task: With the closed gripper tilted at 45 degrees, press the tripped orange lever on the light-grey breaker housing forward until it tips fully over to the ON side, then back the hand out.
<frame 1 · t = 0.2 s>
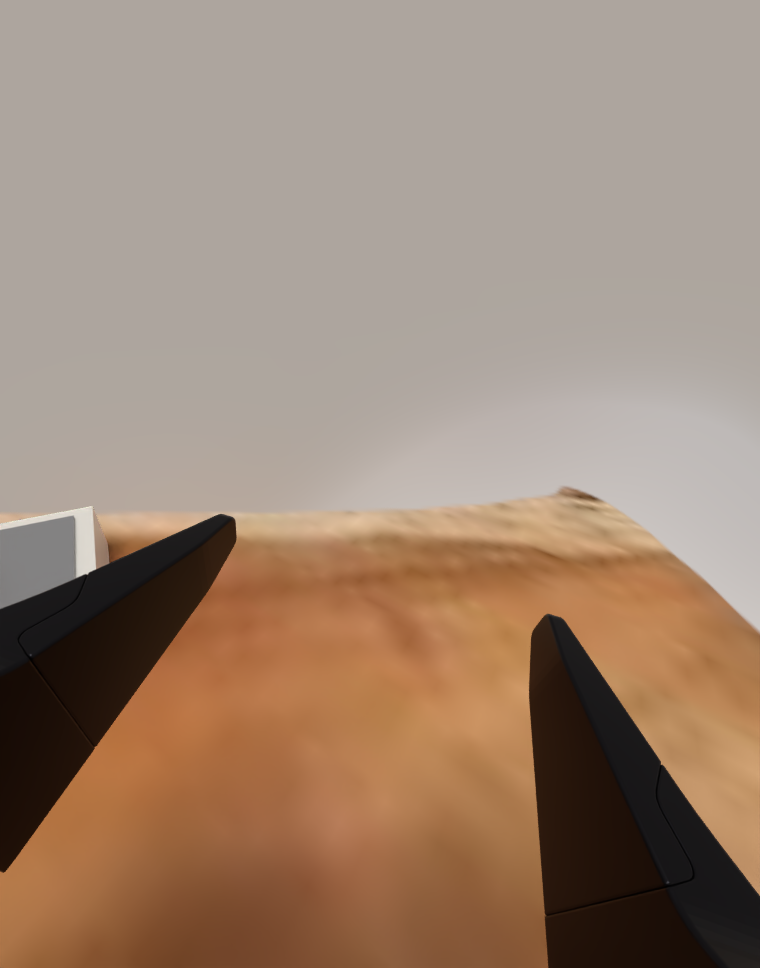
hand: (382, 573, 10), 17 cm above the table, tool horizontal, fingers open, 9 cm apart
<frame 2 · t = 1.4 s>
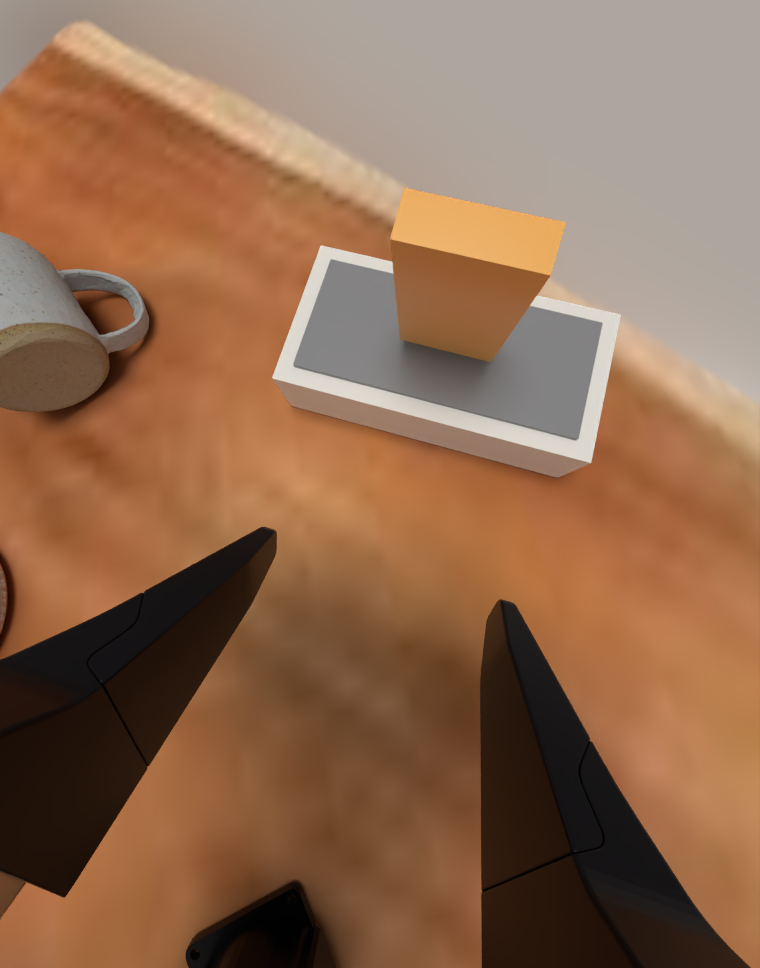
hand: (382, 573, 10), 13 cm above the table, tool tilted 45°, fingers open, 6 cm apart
ceramic mug: (85, 348, 26), on the table
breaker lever: (459, 297, 15), point 9 cm above the table, hinge at -12.0°
breaker housing: (437, 379, 25), on the table
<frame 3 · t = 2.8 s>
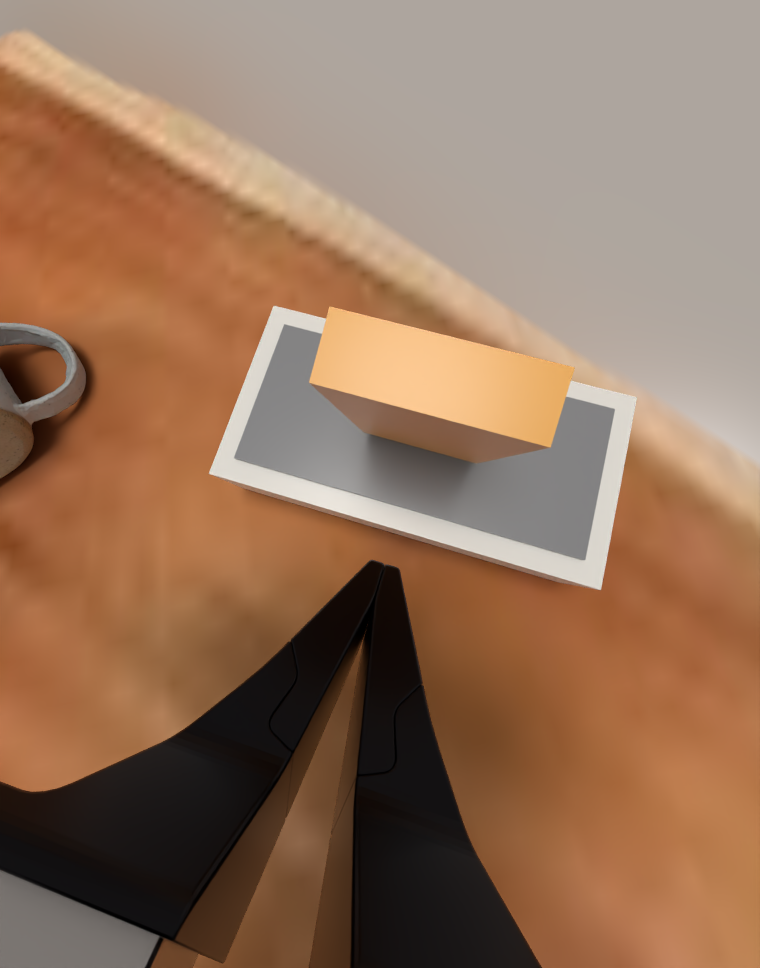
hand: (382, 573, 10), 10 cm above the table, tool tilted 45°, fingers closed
ceramic mug: (12, 409, 23), on the table
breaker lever: (428, 412, 11), point 9 cm above the table, hinge at -12.0°
breaker housing: (417, 457, 21), on the table
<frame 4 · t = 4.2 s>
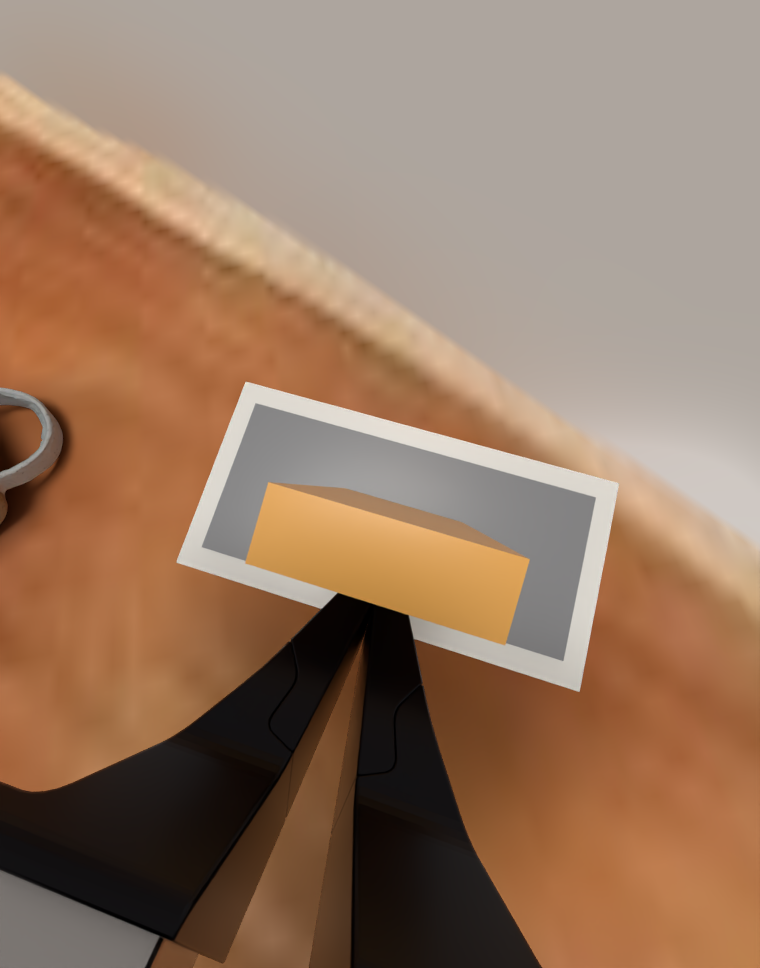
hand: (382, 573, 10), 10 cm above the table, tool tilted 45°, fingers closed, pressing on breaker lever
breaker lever: (392, 535, 11), point 9 cm above the table, hinge at -9.3°, touching gripper
breaker housing: (396, 528, 20), on the table
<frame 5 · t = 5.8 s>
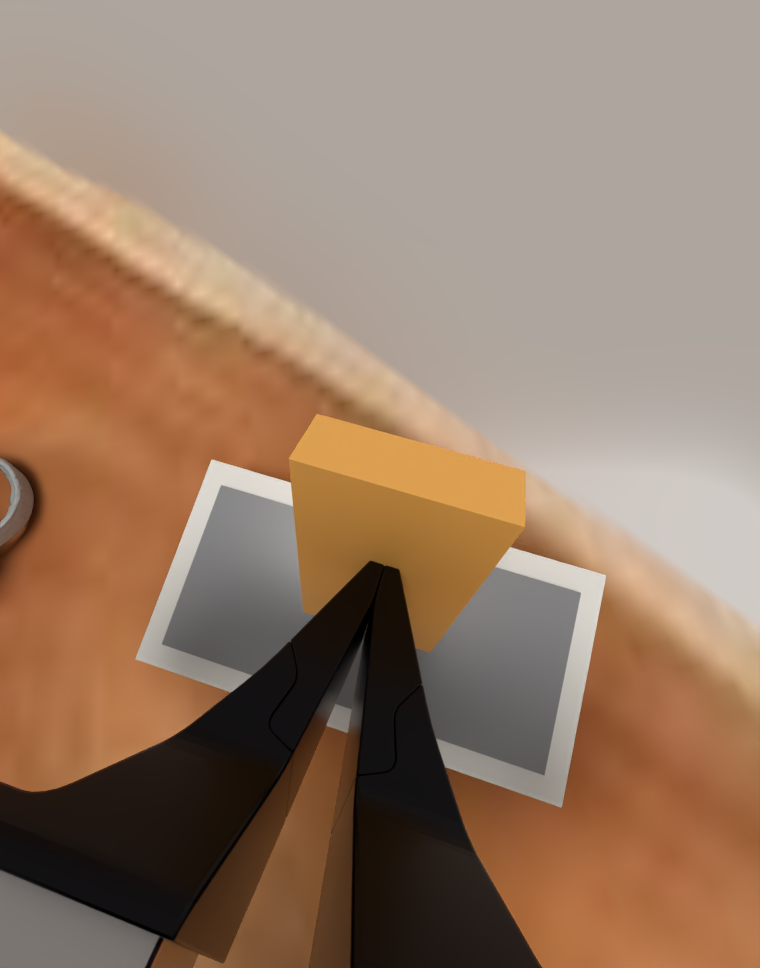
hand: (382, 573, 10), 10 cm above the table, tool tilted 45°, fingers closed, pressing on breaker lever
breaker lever: (385, 559, 11), point 9 cm above the table, hinge at 31.7°, touching gripper
breaker housing: (374, 603, 19), on the table
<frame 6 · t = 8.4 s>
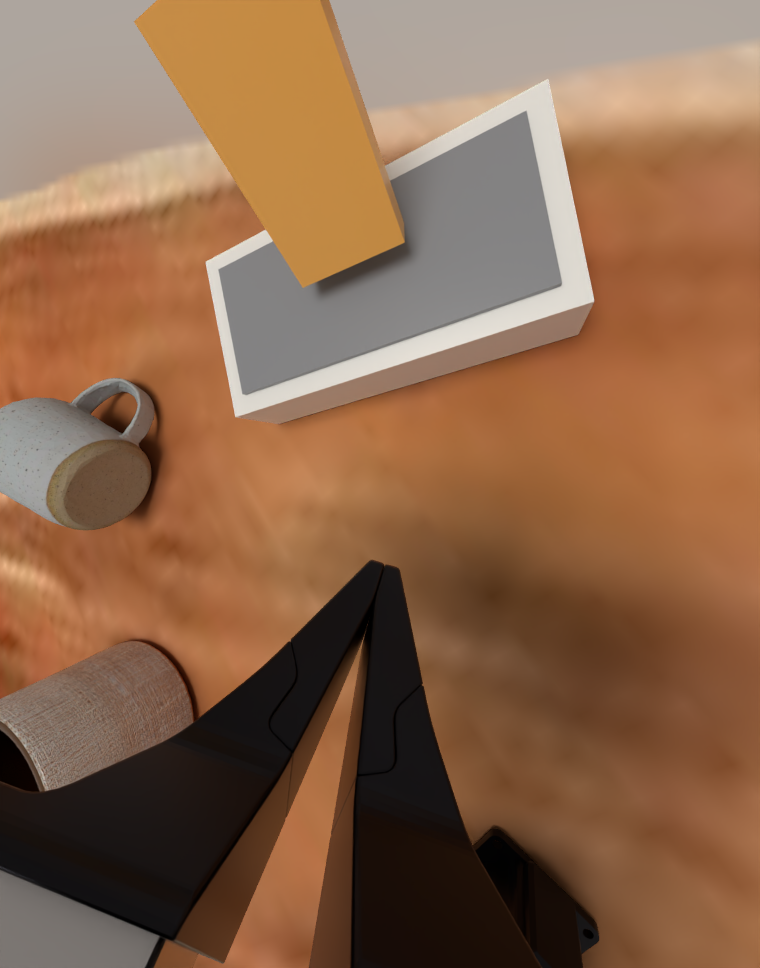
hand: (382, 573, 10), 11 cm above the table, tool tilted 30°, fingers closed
ceramic mug: (128, 449, 30), on the table
planter: (152, 700, 31), on the table
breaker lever: (298, 144, 13), point 9 cm above the table, hinge at 31.9°
breaker housing: (390, 310, 21), on the table
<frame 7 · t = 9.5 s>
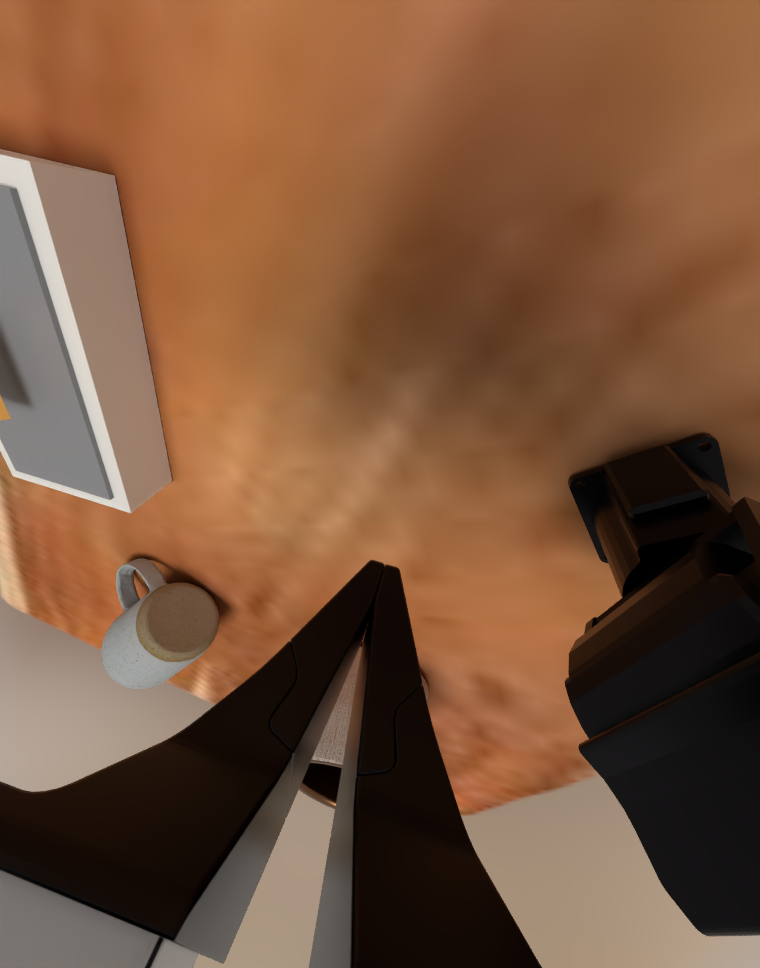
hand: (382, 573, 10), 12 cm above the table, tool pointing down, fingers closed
ceramic mug: (179, 591, 37), on the table
planter: (375, 672, 37), on the table
breaker housing: (84, 345, 23), on the table
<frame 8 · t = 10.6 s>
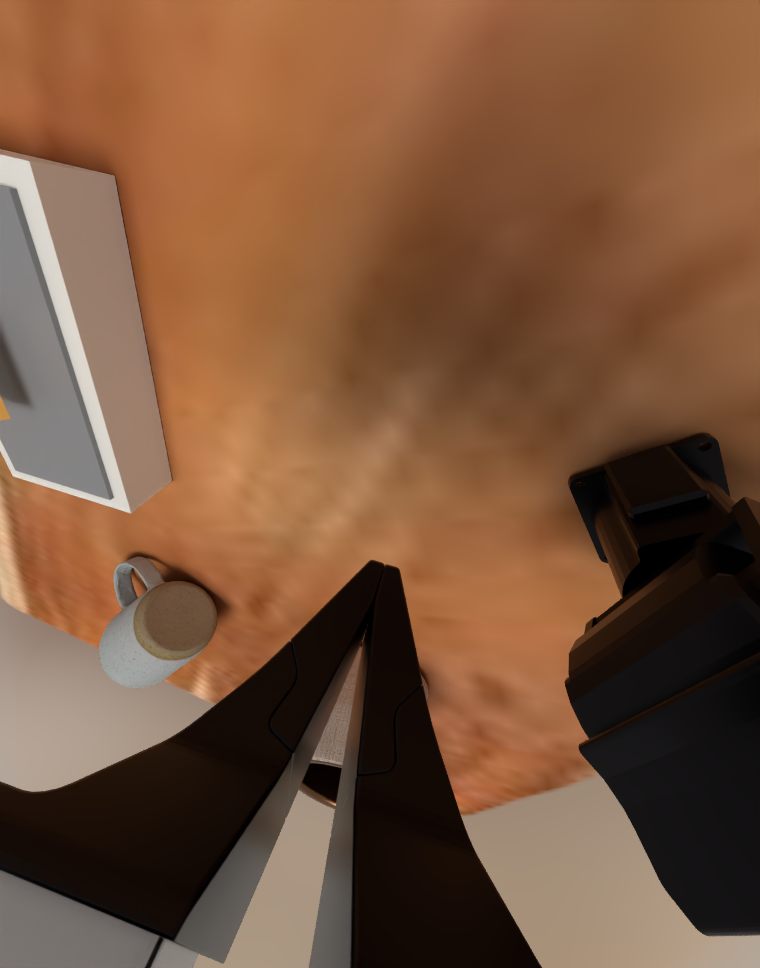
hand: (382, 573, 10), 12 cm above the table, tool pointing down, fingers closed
ceramic mug: (177, 589, 37), on the table
planter: (375, 672, 37), on the table
breaker housing: (84, 345, 23), on the table
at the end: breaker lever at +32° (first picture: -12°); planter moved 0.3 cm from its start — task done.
